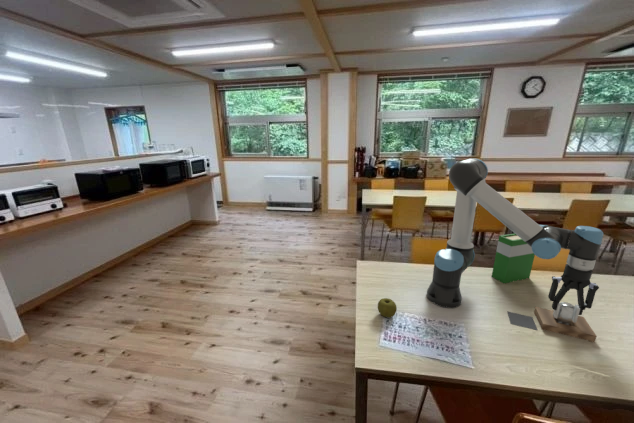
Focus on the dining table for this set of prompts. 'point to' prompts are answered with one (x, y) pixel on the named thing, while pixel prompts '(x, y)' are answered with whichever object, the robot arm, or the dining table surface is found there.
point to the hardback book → (512, 259)
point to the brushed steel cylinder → (565, 313)
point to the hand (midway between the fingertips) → (564, 318)
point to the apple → (387, 307)
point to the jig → (574, 329)
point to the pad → (522, 320)
